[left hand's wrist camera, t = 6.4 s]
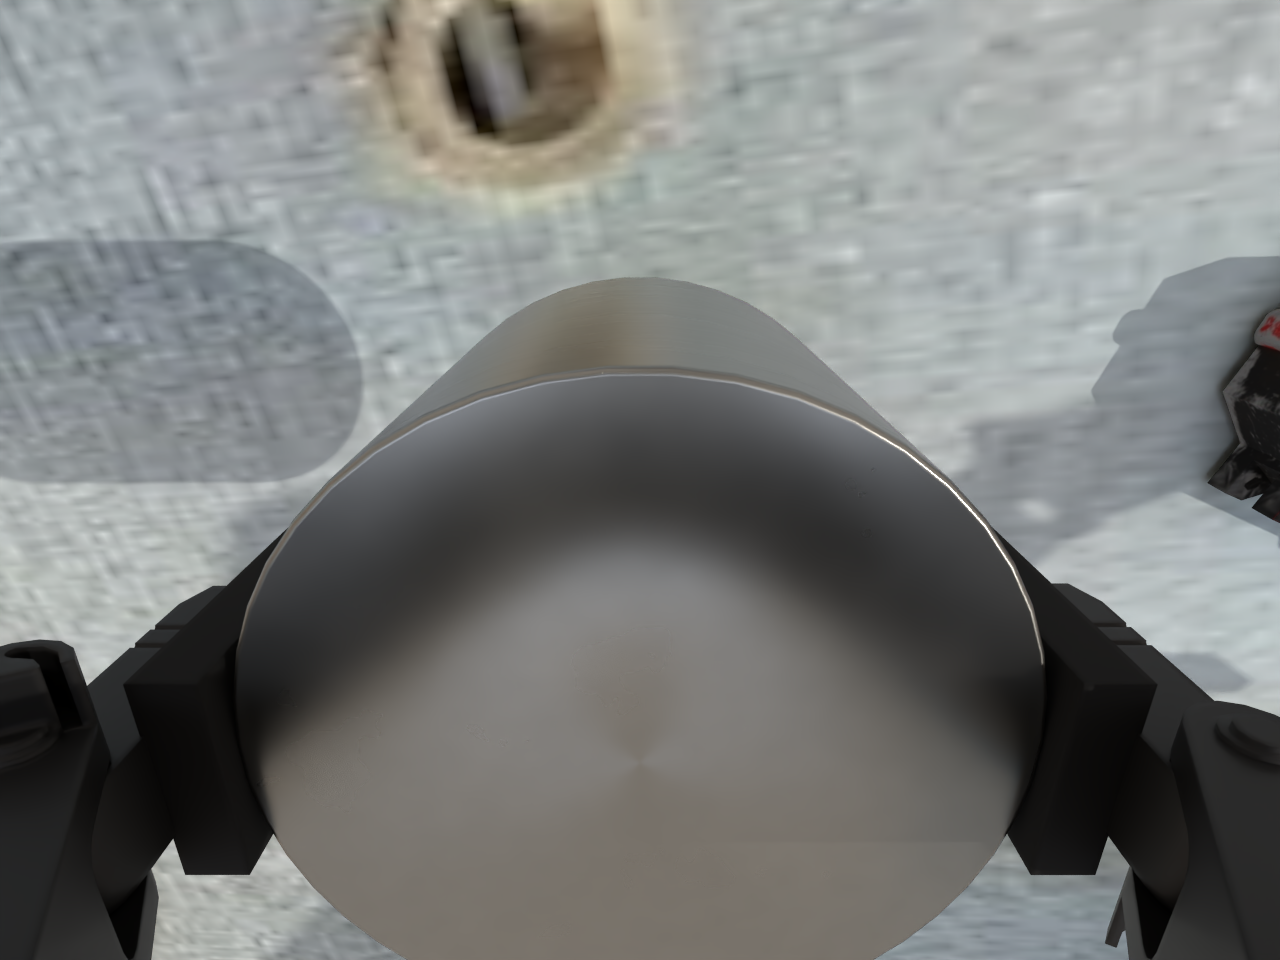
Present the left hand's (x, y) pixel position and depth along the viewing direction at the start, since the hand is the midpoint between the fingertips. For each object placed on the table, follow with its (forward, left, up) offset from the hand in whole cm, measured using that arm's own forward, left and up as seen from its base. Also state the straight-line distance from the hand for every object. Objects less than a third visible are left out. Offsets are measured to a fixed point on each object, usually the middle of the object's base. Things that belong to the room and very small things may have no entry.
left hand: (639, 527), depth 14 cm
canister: (0, 0, -1) cm, 1 cm away
